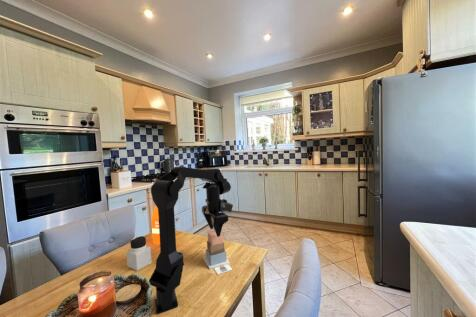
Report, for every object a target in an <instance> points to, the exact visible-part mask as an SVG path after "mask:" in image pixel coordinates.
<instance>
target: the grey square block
mask: <svg viewBox="0 0 476 317" xmlns="http://www.w3.org/2000/svg"><path fill="white" fill-rule="evenodd" d="M205 255H206V256H205V257H203V261H204V262H205V264H206V266H207V268H208V269H209V270H214V268H217V267H220V266H222V265H223V266H224V265H227V264H229V265H230V264H231V262H230V260H229V259H228V257H227V251H226V250H225V252H224V253H220V254H216V255H212V256H211V255H210V253H209V251H208V250H207V248H206V249H205Z"/></svg>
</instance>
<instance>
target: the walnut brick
mask: <svg viewBox="0 0 476 317" xmlns="http://www.w3.org/2000/svg"><path fill="white" fill-rule="evenodd" d="M206 246H207V248H206V249H207V250H208V251H209V253H210V255H211V256H212V255H216V254H220V253H224V252H225V251H226V249H225V242H224V241H223V243H220V244H216V245H211V244H210V243H209V242H208V240H206Z"/></svg>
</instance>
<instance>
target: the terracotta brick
mask: <svg viewBox="0 0 476 317" xmlns="http://www.w3.org/2000/svg"><path fill="white" fill-rule="evenodd" d="M223 239H224V238H223V232H221V234H220V236H219V237H217V235H216V232H215V230H211V231H207V241H208V242H209V243H210V244H211V245H216V244H220V243H223V242H224V240H223Z"/></svg>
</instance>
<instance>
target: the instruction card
mask: <svg viewBox="0 0 476 317" xmlns="http://www.w3.org/2000/svg"><path fill="white" fill-rule="evenodd" d="M213 270H214V271H215V273H216V274H217V275H220V274H224V273H227V272H230V271H232V270H233V268H232V267H231V266H230V264H227V265H224V266H223V265H222V266H220V267H217V268H214V269H213Z"/></svg>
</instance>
